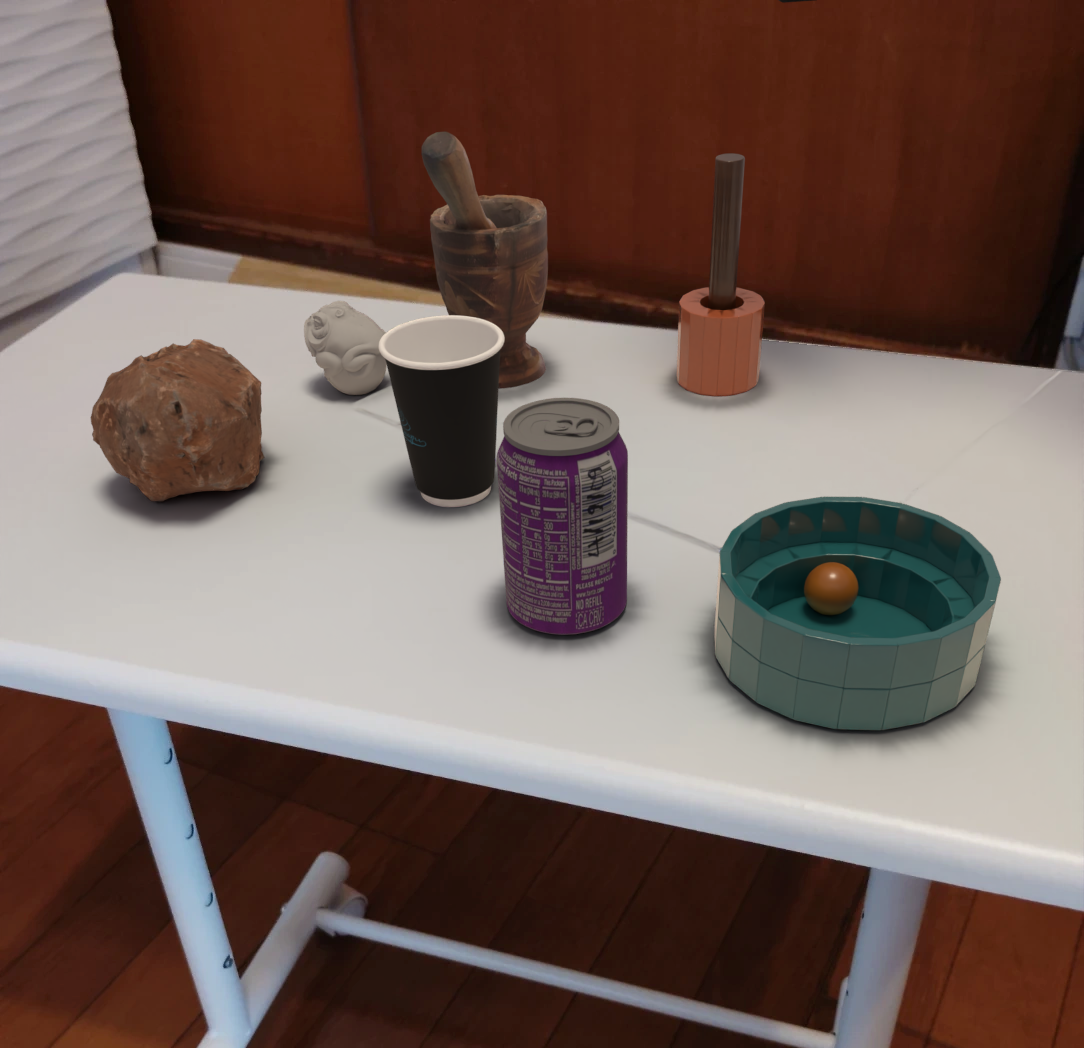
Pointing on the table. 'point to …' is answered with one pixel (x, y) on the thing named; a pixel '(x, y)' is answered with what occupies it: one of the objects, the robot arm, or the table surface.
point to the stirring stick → (725, 230)
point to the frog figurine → (346, 347)
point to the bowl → (854, 612)
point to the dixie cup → (447, 403)
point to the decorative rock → (182, 421)
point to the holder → (719, 344)
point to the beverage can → (564, 515)
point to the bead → (831, 588)
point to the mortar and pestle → (489, 256)
